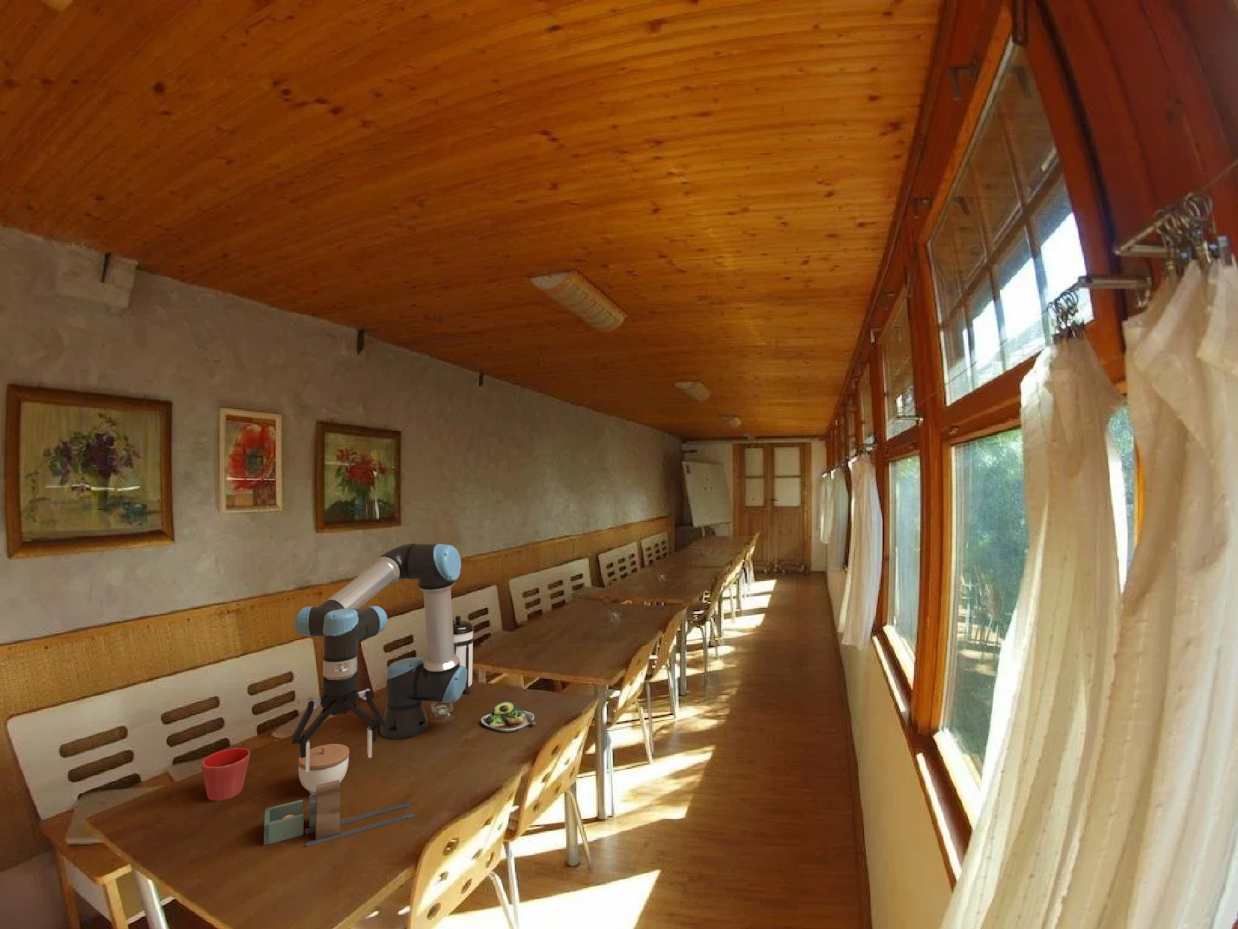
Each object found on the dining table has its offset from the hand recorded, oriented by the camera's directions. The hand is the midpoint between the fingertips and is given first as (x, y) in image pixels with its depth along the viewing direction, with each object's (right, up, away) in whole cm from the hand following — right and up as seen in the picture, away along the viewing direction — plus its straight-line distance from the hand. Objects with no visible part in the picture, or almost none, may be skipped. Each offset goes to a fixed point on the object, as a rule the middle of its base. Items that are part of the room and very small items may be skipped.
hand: (339, 762), depth 138 cm
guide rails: (+5, -16, +2) cm, 17 cm away
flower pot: (-38, -17, +15) cm, 45 cm away
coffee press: (+3, -19, +90) cm, 92 cm away
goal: (-13, -16, -1) cm, 21 cm away
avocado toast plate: (+29, -19, +63) cm, 71 cm away
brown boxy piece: (-4, -16, +1) cm, 17 cm away
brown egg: (-13, -15, -1) cm, 20 cm away
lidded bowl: (-14, -17, +19) cm, 29 cm away
